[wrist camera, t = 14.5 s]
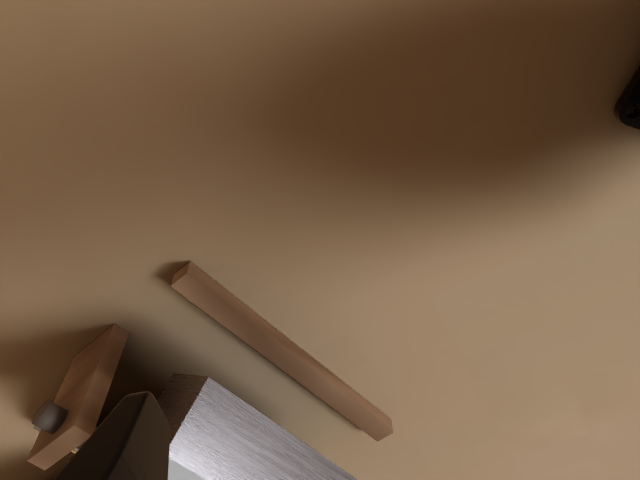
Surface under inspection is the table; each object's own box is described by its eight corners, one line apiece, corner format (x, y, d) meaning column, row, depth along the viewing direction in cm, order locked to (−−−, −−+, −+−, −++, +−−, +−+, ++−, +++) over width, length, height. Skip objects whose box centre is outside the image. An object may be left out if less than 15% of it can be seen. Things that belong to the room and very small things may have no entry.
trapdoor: (187, 362, 21) (122, 472, 19) (379, 495, 26) (342, 594, 24) (83, 356, 31) (32, 430, 29) (238, 454, 35) (203, 524, 33)
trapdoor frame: (175, 249, 24) (145, 344, 20) (400, 427, 30) (417, 530, 26) (58, 347, 27) (8, 451, 22) (287, 491, 33) (284, 594, 29)
